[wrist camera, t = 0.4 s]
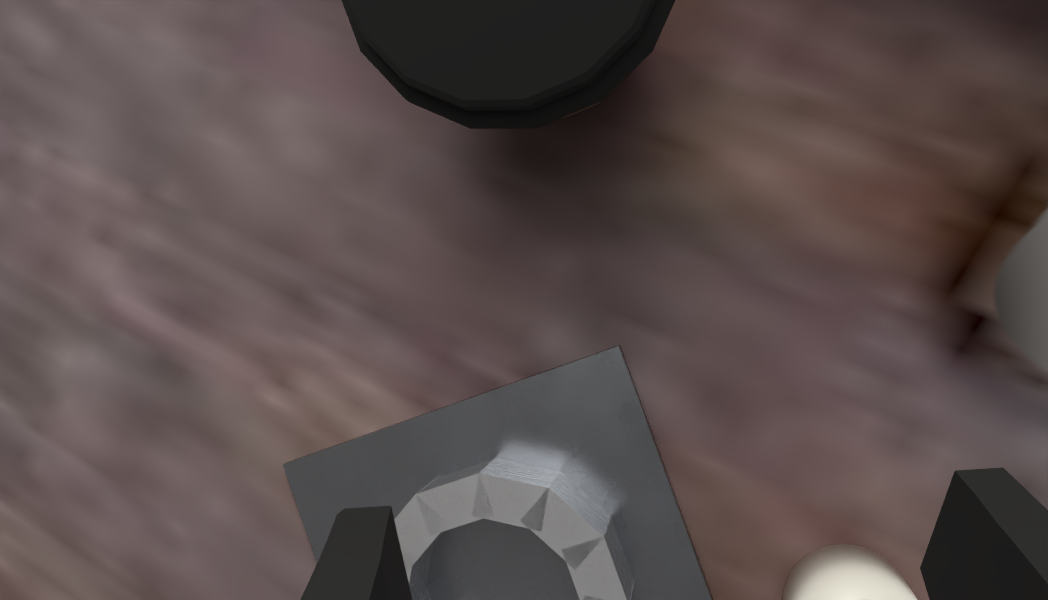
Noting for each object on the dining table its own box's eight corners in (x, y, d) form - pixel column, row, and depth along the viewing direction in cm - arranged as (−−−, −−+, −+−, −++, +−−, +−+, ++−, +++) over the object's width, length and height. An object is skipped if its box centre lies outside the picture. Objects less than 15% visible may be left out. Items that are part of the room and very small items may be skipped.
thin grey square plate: (752, 707, 37) (758, 752, 34) (406, 799, 40) (379, 850, 37) (619, 345, 38) (612, 351, 34) (288, 461, 41) (250, 479, 37)
